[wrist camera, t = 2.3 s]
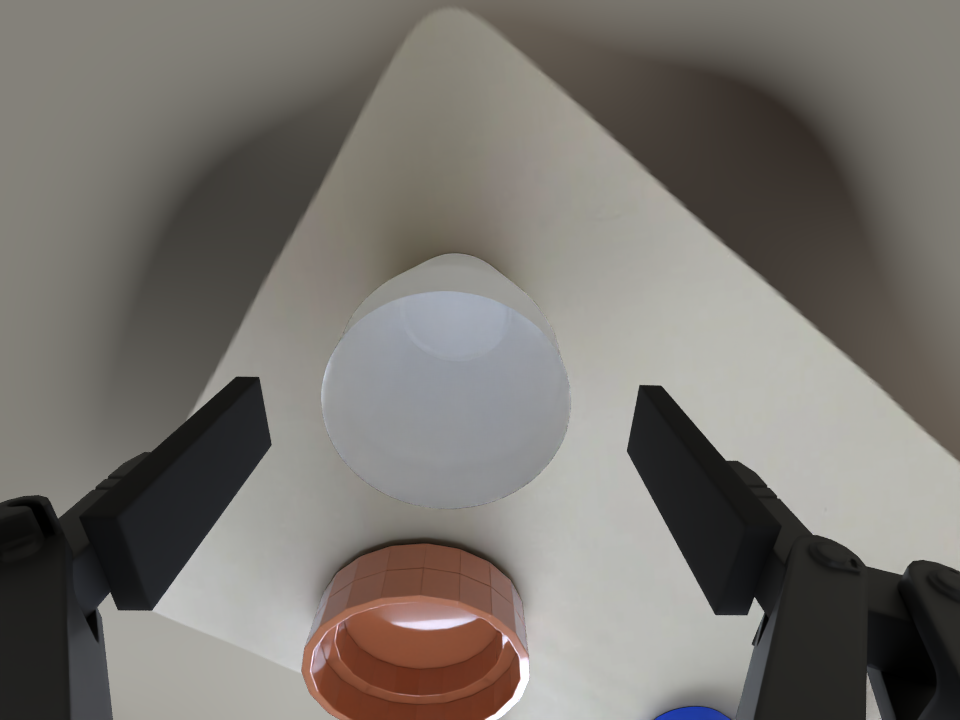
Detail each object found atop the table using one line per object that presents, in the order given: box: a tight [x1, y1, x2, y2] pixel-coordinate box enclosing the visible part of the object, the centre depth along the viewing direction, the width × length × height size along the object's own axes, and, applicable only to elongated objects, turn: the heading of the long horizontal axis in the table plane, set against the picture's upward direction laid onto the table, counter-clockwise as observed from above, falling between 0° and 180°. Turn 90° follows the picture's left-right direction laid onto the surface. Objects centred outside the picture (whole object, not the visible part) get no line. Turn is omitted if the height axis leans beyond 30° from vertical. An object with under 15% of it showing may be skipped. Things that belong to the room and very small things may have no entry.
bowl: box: [301, 543, 530, 720], centre depth 35 cm, size 16×16×5 cm
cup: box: [321, 253, 571, 509], centre depth 21 cm, size 9×9×12 cm
